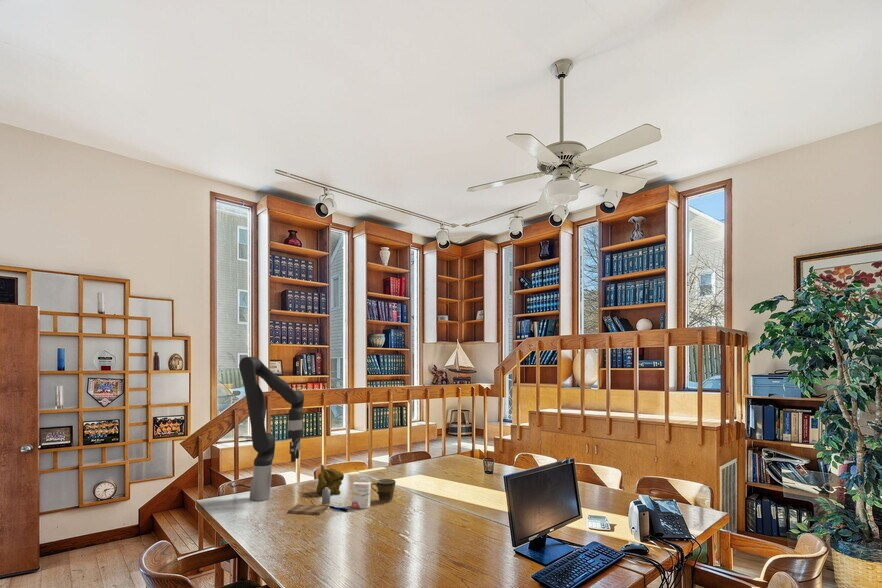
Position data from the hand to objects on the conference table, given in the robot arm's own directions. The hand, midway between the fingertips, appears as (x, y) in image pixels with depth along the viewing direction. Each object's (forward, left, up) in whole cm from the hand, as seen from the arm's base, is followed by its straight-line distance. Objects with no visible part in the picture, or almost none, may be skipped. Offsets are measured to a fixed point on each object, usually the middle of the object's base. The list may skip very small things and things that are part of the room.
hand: (295, 460), depth 252 cm
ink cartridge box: (+38, -5, -20) cm, 44 cm away
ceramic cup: (+46, +7, -20) cm, 51 cm away
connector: (+20, -6, -20) cm, 29 cm away
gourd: (+12, +17, -20) cm, 29 cm away
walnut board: (+15, -16, -20) cm, 30 cm away
